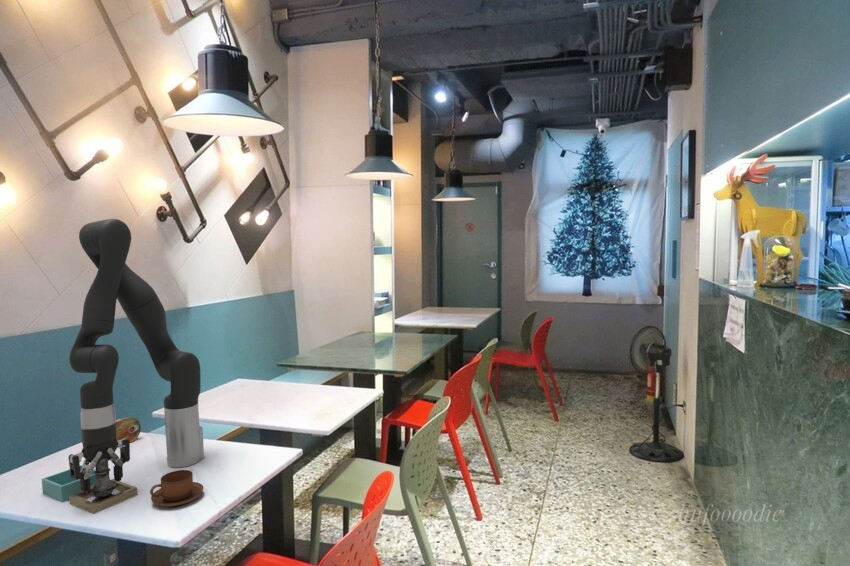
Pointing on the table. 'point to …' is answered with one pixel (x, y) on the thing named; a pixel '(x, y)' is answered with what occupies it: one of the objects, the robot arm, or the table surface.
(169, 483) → the cup and saucer
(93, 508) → the socket collar
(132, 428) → the tin
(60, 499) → the bin
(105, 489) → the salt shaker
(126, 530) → the table surface
